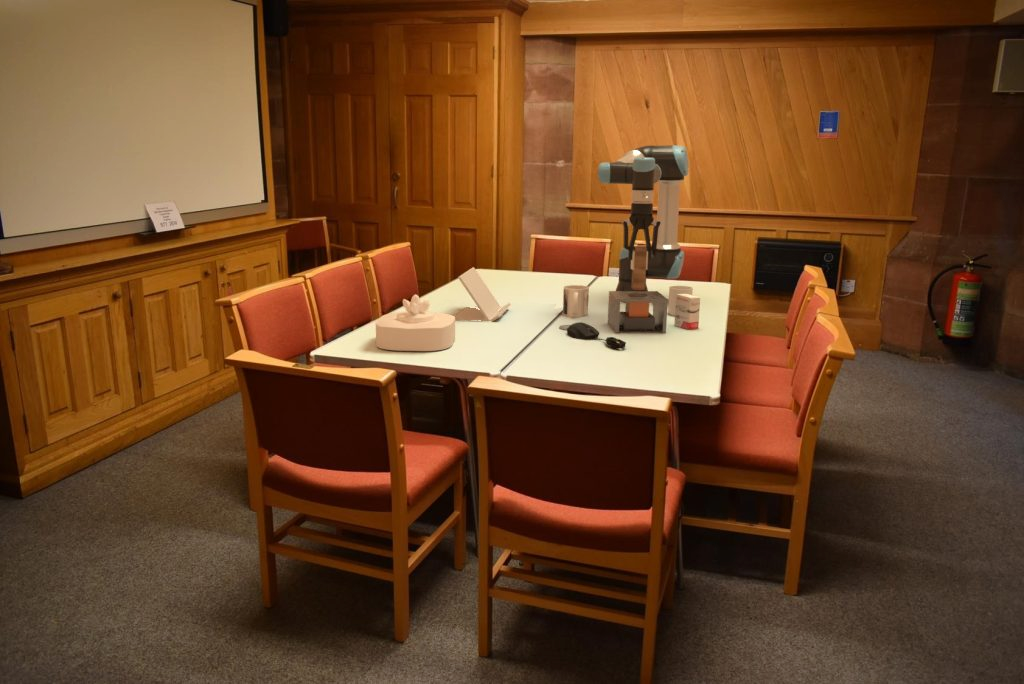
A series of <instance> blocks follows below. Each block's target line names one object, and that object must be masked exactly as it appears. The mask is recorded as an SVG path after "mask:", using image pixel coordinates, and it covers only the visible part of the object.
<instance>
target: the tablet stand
mask: <svg viewBox="0 0 1024 684" xmlns="http://www.w3.org/2000/svg"><path fill="white" fill-rule="evenodd" d="M458 280H459V282H460V283H461V284H462V285H463V287H464V288H465V290H466V291H467V293H468V295H469V296H470V298H471V299H472V300H473V302H474V303H475V305H476V307H478V308H479V309H480V310H478V309H476V308H470V307H467V306H466V307H465V308H464V309H462V310H461V311H460V312H459V313H458V314H456V315H454V317H455V321H460V320H481V321H480V322H483V321H492V322H494V321H495V320H498V319H499V318H500V317H502V316H503V314H504V313H505V312H506V311H507V310H508V308H510V306H512V305H511V303H510V302H508V303H507V304H505V305H504V306H502V307H501V305H500V303H499V302H498V301H497V299H496V298H495V296H494V295H493V293H492V292H491V290H490V289H489V287H488V286H487V284H486V283H485V281H484V280H483V279H482V277H481V276H480V274H479V273H478V271H477V270H476V268H475V267H472V268H470V269H468V270H467V271H465V272H464V273H461V274H460V275H459V276H458ZM500 308H501V309H500ZM499 309H500V310H499ZM498 310H499V311H498Z"/></svg>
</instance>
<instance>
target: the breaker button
mask: <svg viewBox="0 0 1024 684" xmlns="http://www.w3.org/2000/svg"><path fill="white" fill-rule="evenodd" d="M624 308H625V309H624V312H625V314H626V315H627V316H628V317H648V315H649V313H650V302H626V303H625V307H624Z"/></svg>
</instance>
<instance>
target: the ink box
mask: <svg viewBox="0 0 1024 684" xmlns="http://www.w3.org/2000/svg"><path fill="white" fill-rule="evenodd" d="M700 305H701V297H700V296H696V295H693V294H692V295H689V294H676V308H675V316H674V326H675V327H679V328H682V329H685V330H690V331H691V330H695V329H696V330H697V329H699V326H700V325H699V322H700V308H701V307H700Z"/></svg>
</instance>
